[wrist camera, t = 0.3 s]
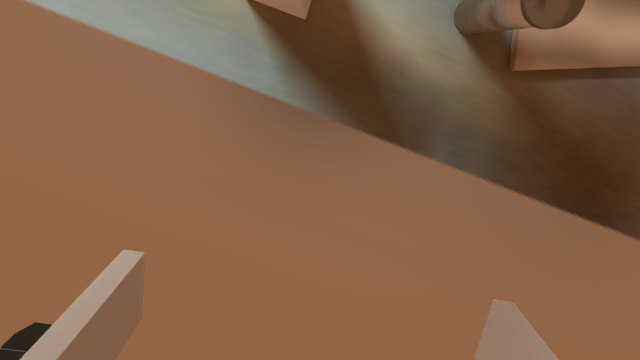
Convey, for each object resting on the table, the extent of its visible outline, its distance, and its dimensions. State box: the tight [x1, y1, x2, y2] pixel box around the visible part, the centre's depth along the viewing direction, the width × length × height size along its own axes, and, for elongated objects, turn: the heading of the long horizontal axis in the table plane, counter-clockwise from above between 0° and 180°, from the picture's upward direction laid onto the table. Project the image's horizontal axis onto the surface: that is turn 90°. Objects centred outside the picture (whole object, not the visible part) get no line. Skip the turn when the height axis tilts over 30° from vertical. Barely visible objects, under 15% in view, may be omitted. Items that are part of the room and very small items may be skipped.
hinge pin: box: [454, 0, 585, 34], centre depth 32 cm, size 4×4×14 cm
